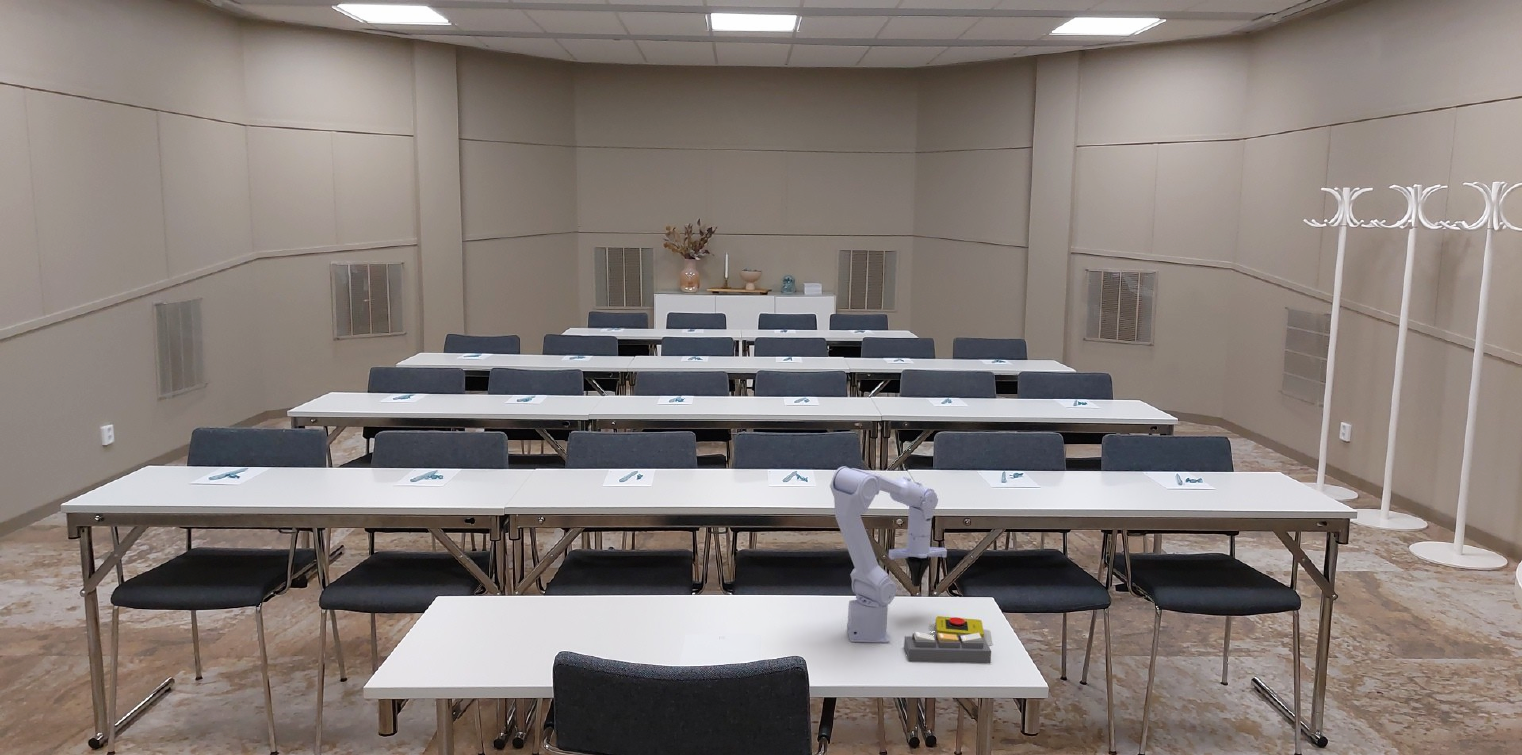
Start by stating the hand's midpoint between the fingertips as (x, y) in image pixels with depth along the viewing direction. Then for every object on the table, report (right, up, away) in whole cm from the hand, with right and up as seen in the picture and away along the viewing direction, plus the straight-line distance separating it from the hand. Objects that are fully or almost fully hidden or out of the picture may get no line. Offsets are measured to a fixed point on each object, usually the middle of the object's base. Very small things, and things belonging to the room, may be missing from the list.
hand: (915, 584), depth 267 cm
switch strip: (+5, -13, -18) cm, 23 cm away
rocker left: (-1, -9, -19) cm, 21 cm away
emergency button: (+10, -12, -6) cm, 17 cm away
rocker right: (+10, -9, -18) cm, 23 cm away
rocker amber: (+5, -9, -19) cm, 21 cm away
